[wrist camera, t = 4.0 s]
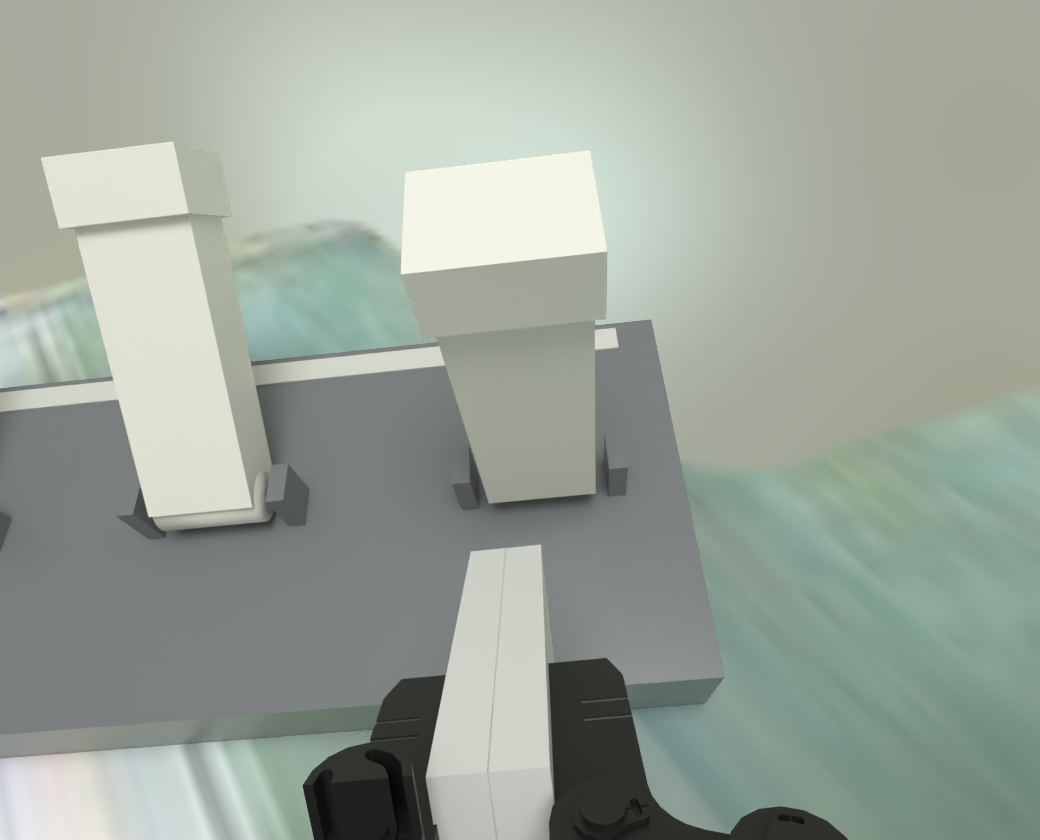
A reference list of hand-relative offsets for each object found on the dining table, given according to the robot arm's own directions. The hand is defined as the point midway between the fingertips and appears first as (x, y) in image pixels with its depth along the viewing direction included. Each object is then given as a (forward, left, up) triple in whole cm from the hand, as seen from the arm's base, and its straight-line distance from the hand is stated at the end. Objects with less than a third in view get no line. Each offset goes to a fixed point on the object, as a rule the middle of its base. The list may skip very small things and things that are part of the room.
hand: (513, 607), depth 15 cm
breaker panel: (+6, -11, -12) cm, 18 cm away
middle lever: (+6, -11, -7) cm, 14 cm away
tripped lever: (-4, -5, -7) cm, 9 cm away
